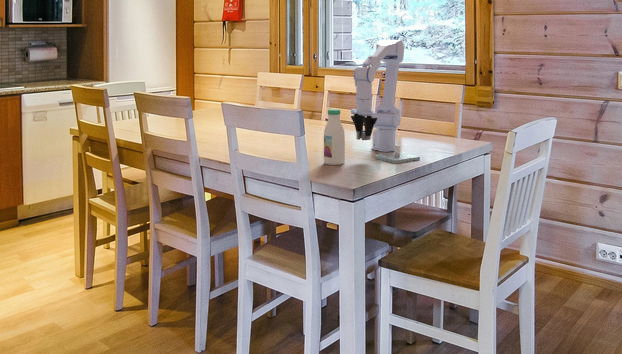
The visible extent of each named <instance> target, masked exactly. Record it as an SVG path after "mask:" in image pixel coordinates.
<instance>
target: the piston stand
mask: <svg viewBox="0 0 622 354" xmlns="http://www.w3.org/2000/svg"><path fill="white" fill-rule="evenodd" d="M374 159H376V160H380V161H383V162H387V163H391V164H401V163H407V161H408V162H414V161H413V160H415V161H420V160H421V156H419V155H415V154H411V153H406V152H401V145H399V144H395V151H394V152H388V153H382V154H381V153H380V154H375V155H374ZM419 159H420V160H419Z"/></svg>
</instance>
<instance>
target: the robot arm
mask: <svg viewBox="0 0 622 354" xmlns="http://www.w3.org/2000/svg"><path fill="white" fill-rule="evenodd" d="M375 48H376V49H375V51H374V53H373V54H372V55H369V56H367V58H366V59H365V60H364V61H363V62H362V64H361V65H359V66H357V67H355V69H354V71H353V80H354V86H355V87H356V91H355V93H356V94H355V95H356V96H355V97H356V100H355V101H356V103H355V104H356V105H355V106H356V108H351V109H350V114H351V115H350V118H351V120H352V122H353V125H354V128H355V132H356V134H357V131H359V130H365V135H366V136H371V137H372V147H370V149H371V150H375V151H377V152H378V151H379V152H383V153H387V152H388V153H391V152H395V145H396V143H397V142H396V137H397V135H396V131H397V129H398V128H399V126H400V124H401V110H400V108H398V106H396V105H395V101H396V93H397V86H398V85H397V84H398V77H399V69H400V64H402V63H403V61H404V54H405V45H404V42H403V40H402V39H398V40H397V39H396V40H395V39H392V40H391V39H384V40H383V39H379V40H378V41H377V43H376V46H375ZM381 62H382V63H385V65H386V66H385V68H386V69H385V77H384V83H383V92H382V102H381V104H380V105H378V106H376V108H375V111H374V110H372V108H373V106H372V102H373V101H372V100H373V99H372V97H373V95H372V93H373V91H372V89H373V87H372V86H373V82H374V81H375V77H376V72H377V71H378V69H379V68H380V67H381V65H382V64H381ZM374 127H375V128H374Z"/></svg>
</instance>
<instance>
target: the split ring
mask: <svg viewBox="0 0 622 354" xmlns="http://www.w3.org/2000/svg"><path fill="white" fill-rule="evenodd" d="M355 135H356V138H355V139H356V140H357V141H359V140H361V141H370V140H372V135H371V136H366V135H365V129H363V130H359V131H357V133H356V134H355Z"/></svg>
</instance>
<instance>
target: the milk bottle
mask: <svg viewBox="0 0 622 354" xmlns="http://www.w3.org/2000/svg"><path fill="white" fill-rule="evenodd" d="M327 117H328V118H327V121H326V125H325V127H324V129H323V162H324V164H325V165H327V166H328V165H331V166H339V165H344V164H345V161H346V151H345V150H346V144H345V143H346V142H345V140H346V138H345V129H344V126H343V124H342V121H341V109H339V108H338V109H337V108H329V109H327Z"/></svg>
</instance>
